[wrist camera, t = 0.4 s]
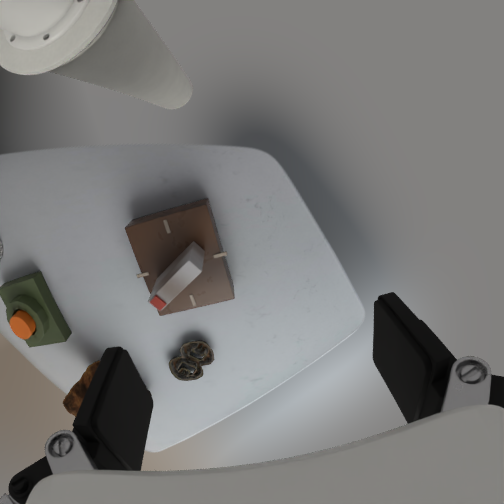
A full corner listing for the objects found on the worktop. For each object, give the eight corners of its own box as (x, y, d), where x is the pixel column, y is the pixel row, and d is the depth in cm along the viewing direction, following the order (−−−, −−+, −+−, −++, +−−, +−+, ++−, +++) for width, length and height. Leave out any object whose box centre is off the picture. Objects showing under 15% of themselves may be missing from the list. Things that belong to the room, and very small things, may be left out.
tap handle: (193, 240, 32) (188, 261, 27) (205, 251, 33) (201, 272, 28) (156, 278, 33) (147, 302, 28) (168, 287, 34) (159, 313, 29)
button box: (5, 282, 35) (-10, 295, 31) (40, 270, 35) (26, 284, 31) (35, 339, 39) (24, 354, 35) (71, 332, 39) (61, 349, 35)
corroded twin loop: (222, 346, 41) (222, 351, 40) (194, 381, 43) (194, 386, 42) (188, 330, 40) (188, 335, 39) (163, 367, 42) (162, 372, 41)
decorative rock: (78, 367, 41) (55, 417, 31) (92, 346, 40) (67, 398, 30) (142, 405, 45) (131, 458, 35) (160, 388, 43) (151, 444, 33)
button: (11, 311, 33) (5, 318, 31) (27, 307, 33) (21, 314, 31) (23, 333, 34) (18, 340, 33) (40, 330, 34) (34, 337, 33)
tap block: (127, 221, 34) (119, 230, 31) (213, 196, 34) (212, 203, 31) (159, 304, 38) (154, 317, 35) (238, 285, 38) (240, 298, 35)
